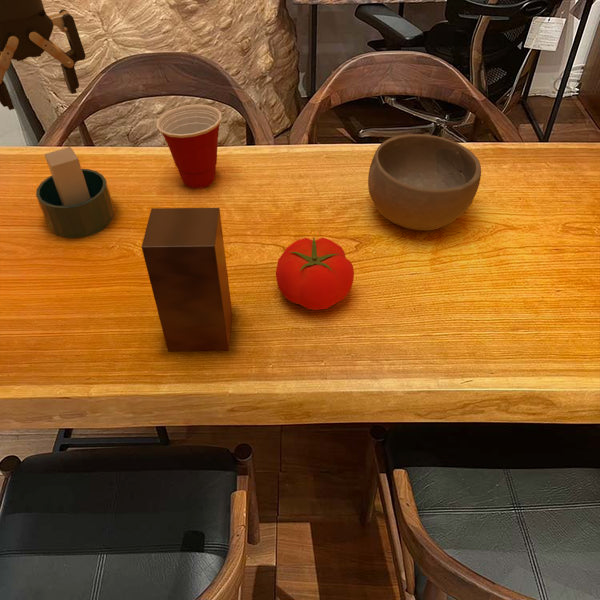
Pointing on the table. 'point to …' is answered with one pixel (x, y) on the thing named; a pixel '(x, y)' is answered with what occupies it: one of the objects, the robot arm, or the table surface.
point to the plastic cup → (192, 142)
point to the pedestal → (189, 277)
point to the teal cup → (77, 208)
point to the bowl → (423, 180)
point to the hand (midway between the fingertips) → (42, 99)
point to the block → (68, 176)
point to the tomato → (314, 273)
